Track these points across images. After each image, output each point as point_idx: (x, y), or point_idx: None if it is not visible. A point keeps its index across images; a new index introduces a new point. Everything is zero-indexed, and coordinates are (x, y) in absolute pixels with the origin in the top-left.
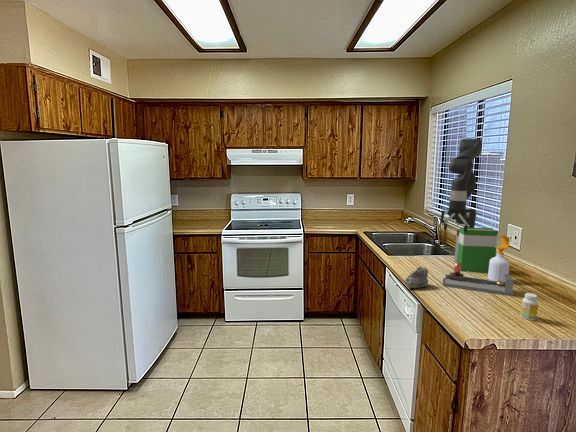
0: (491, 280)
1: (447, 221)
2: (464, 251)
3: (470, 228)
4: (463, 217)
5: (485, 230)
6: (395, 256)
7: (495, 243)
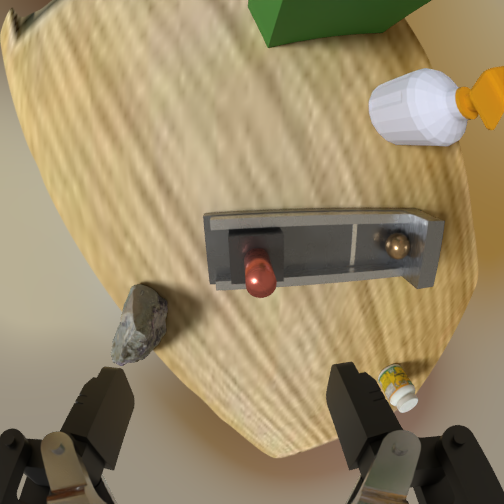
0: (380, 216)
1: (108, 501)
2: (292, 2)
3: None
4: None
5: None
6: (34, 29)
7: None
